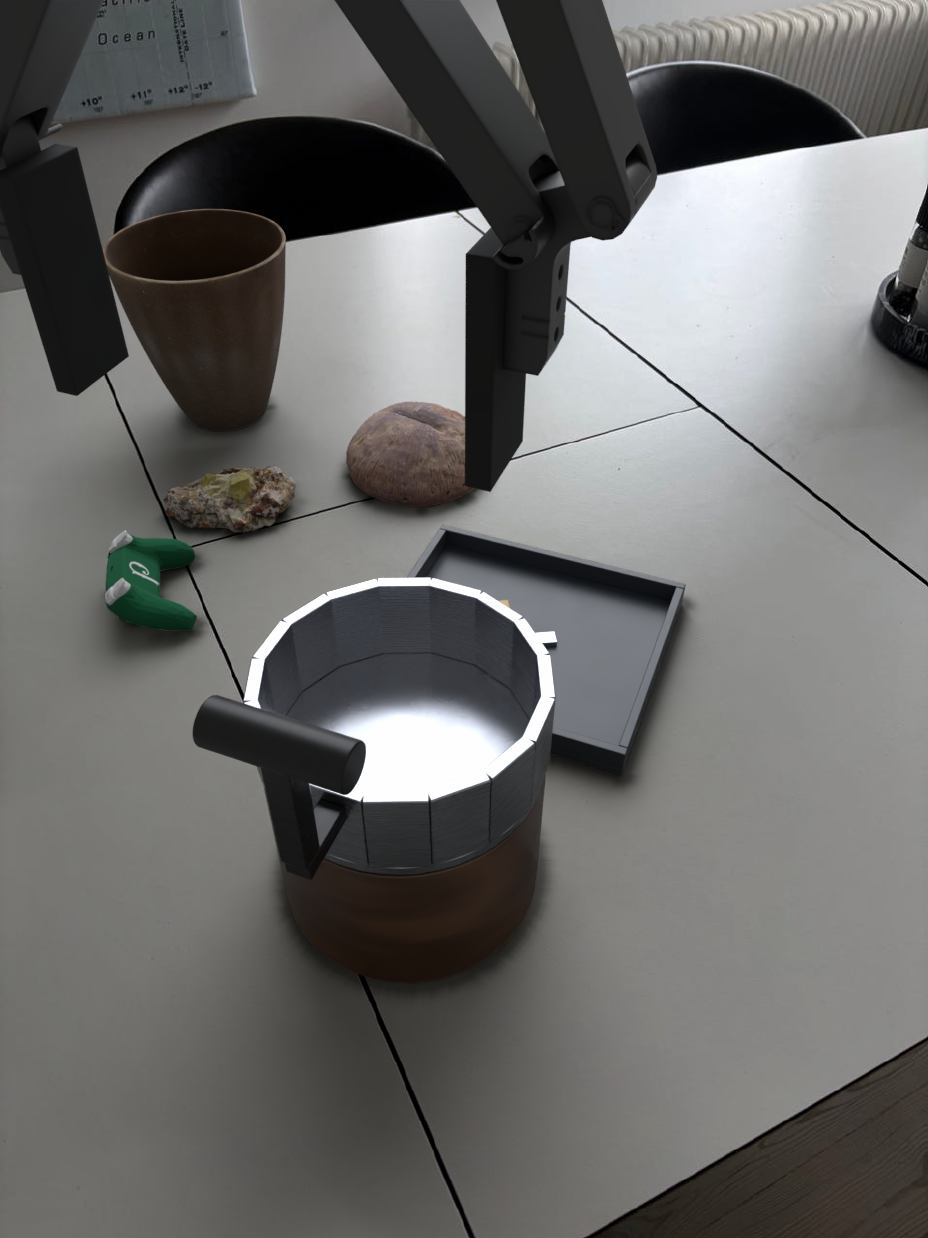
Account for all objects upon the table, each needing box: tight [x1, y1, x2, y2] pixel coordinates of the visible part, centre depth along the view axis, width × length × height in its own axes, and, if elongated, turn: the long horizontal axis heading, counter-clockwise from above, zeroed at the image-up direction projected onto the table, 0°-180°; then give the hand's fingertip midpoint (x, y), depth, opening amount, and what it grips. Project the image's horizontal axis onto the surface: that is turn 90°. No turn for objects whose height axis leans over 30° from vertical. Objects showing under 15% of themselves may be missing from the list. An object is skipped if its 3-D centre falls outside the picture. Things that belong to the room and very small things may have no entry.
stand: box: [263, 773, 547, 984], centre depth 54 cm, size 14×14×10 cm
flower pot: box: [102, 208, 287, 432], centre depth 89 cm, size 15×15×16 cm
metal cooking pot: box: [192, 577, 556, 880], centre depth 45 cm, size 18×14×13 cm
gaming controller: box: [104, 529, 198, 632], centre depth 74 cm, size 9×4×6 cm
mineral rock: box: [163, 465, 297, 534], centre depth 82 cm, size 11×4×8 cm
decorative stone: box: [345, 401, 475, 507], centre depth 85 cm, size 12×12×6 cm
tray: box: [406, 524, 687, 776], centre depth 70 cm, size 17×19×2 cm
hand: (282, 416), depth 30 cm, fingers open, 13 cm apart
